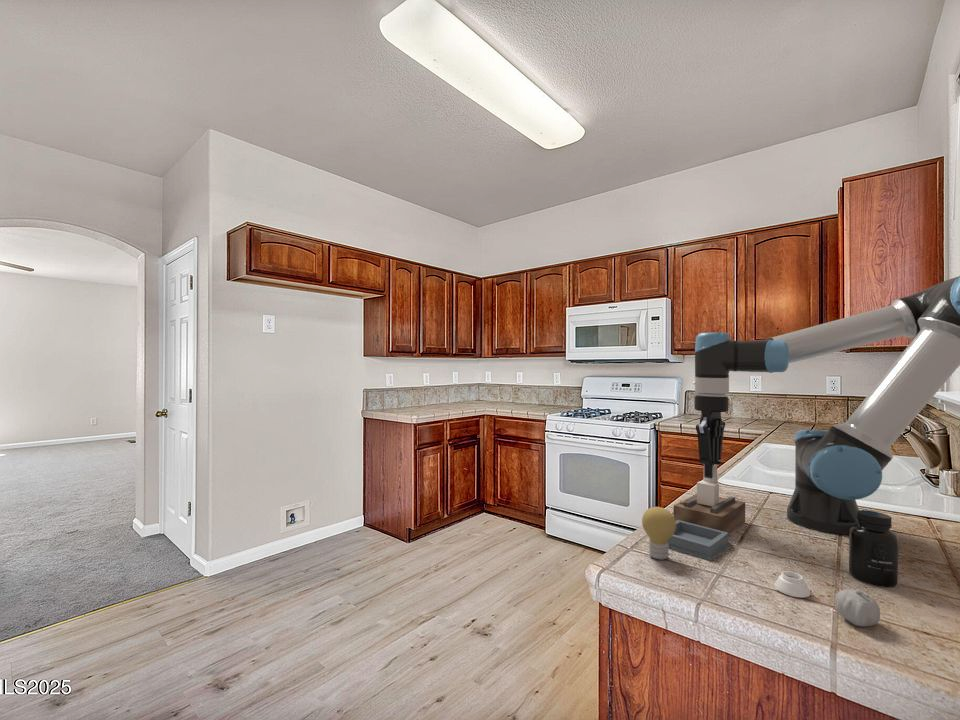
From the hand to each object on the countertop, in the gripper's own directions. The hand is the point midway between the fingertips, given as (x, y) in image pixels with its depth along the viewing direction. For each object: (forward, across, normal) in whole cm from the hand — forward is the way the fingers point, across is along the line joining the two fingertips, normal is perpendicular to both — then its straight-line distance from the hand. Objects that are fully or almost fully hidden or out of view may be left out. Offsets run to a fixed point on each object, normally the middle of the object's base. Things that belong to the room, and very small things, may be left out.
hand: (710, 490), depth 111 cm
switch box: (+8, +1, 0) cm, 8 cm away
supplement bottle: (+8, +8, +31) cm, 34 cm away
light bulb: (+8, +29, +1) cm, 30 cm away
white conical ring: (+8, +25, +22) cm, 35 cm away
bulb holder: (+8, +17, +2) cm, 19 cm away
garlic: (+8, +28, +32) cm, 43 cm away
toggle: (+3, +2, 0) cm, 4 cm away
